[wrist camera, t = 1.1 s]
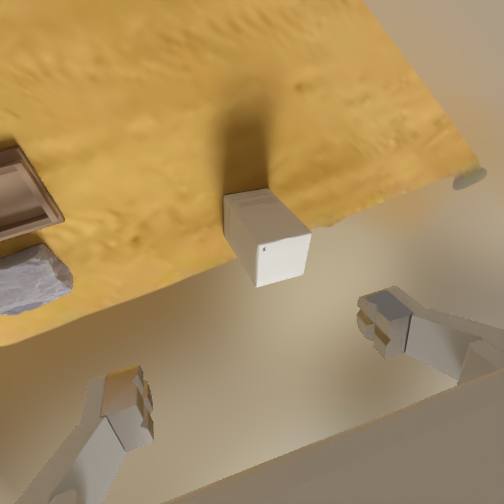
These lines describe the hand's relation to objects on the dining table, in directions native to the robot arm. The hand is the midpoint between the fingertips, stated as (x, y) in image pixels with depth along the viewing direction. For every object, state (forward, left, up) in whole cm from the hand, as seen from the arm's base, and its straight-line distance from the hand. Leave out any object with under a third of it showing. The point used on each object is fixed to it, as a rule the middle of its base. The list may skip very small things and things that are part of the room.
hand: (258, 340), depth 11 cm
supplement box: (+24, +13, -40) cm, 49 cm away
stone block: (+22, -24, -41) cm, 52 cm away
